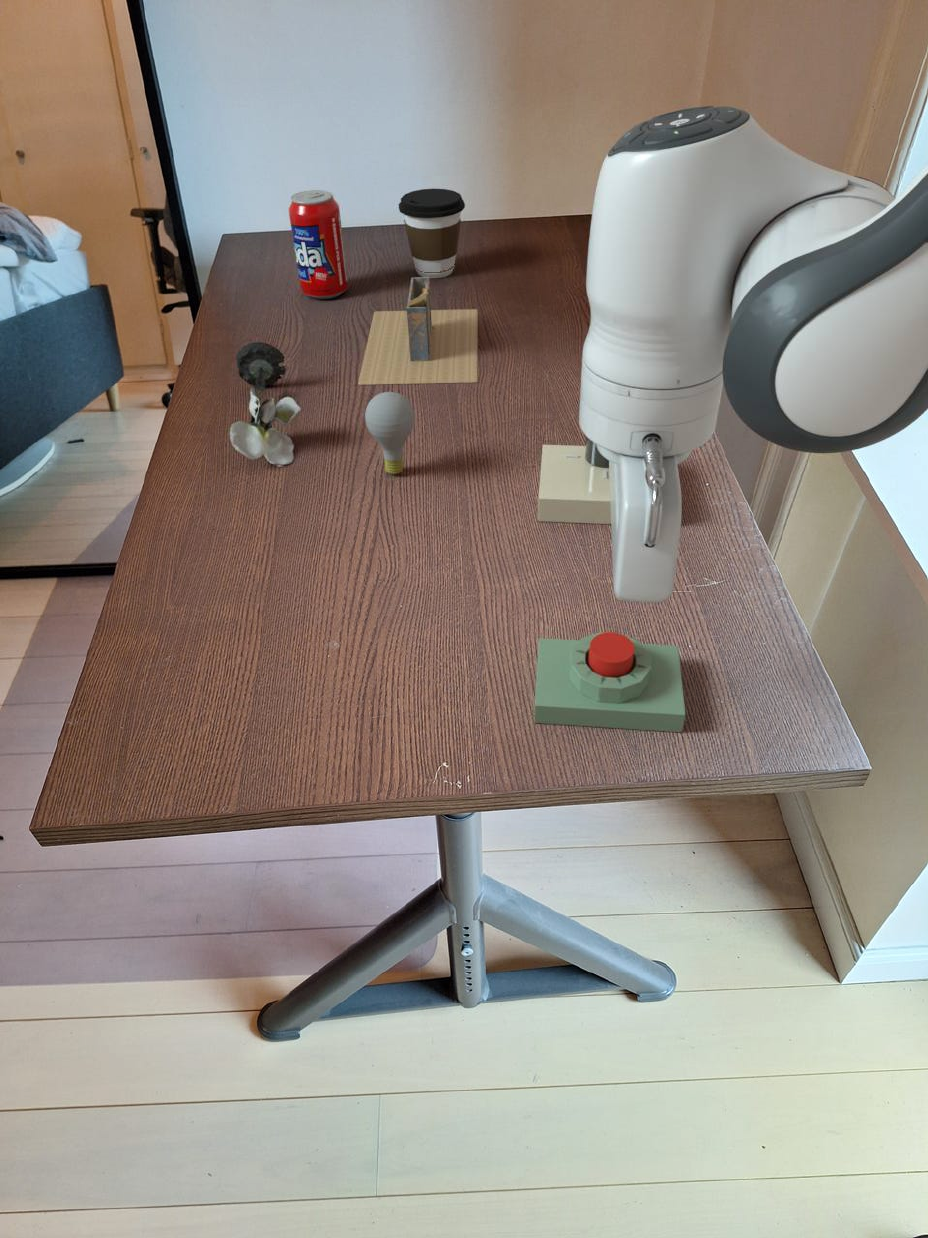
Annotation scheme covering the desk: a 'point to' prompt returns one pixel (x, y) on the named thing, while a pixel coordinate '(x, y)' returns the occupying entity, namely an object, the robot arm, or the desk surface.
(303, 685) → the desk surface
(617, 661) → the button
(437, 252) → the coffee cup
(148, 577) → the desk surface
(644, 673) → the box
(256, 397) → the artificial flower
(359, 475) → the desk surface
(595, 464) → the burner knob
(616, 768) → the desk surface
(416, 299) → the ruin model on sheet
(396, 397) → the light bulb
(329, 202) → the soda can
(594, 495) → the stove panel
